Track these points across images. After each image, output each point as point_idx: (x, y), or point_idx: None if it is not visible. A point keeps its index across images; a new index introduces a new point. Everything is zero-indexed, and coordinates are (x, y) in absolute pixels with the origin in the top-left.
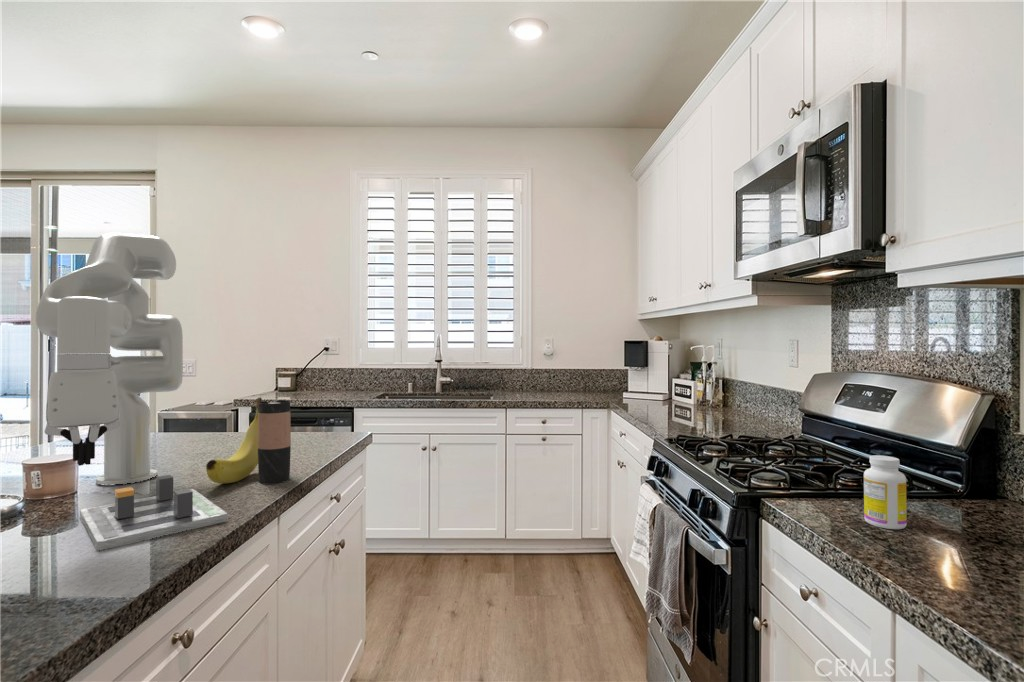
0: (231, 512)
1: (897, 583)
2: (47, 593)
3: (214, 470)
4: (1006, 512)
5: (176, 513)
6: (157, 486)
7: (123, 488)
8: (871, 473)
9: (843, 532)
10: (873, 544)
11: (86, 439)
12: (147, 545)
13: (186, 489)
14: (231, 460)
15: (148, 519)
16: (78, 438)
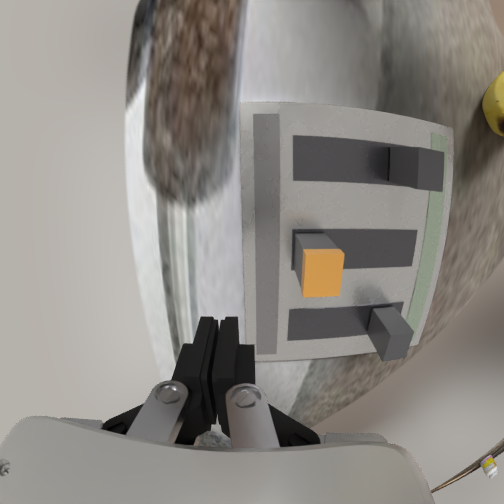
0: (437, 298)
1: (438, 486)
2: None
3: (502, 134)
4: (497, 455)
5: (370, 331)
6: (405, 163)
7: (325, 259)
8: (490, 472)
9: (476, 462)
10: (466, 469)
11: (222, 430)
12: (304, 369)
13: (409, 336)
14: None
15: (336, 299)
16: (190, 442)
